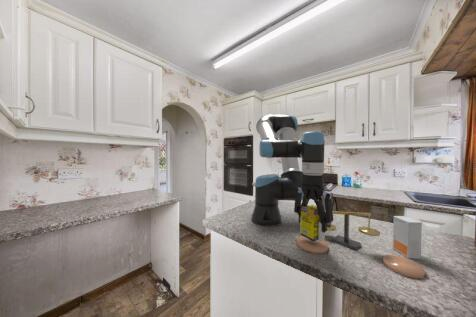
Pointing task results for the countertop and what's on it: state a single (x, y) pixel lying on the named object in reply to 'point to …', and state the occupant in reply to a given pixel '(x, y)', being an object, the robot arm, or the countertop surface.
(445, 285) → the countertop surface
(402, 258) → the glossy peach dome
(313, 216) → the supplement box
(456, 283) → the countertop surface
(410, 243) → the skincare box
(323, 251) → the peach round dome
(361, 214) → the balance
